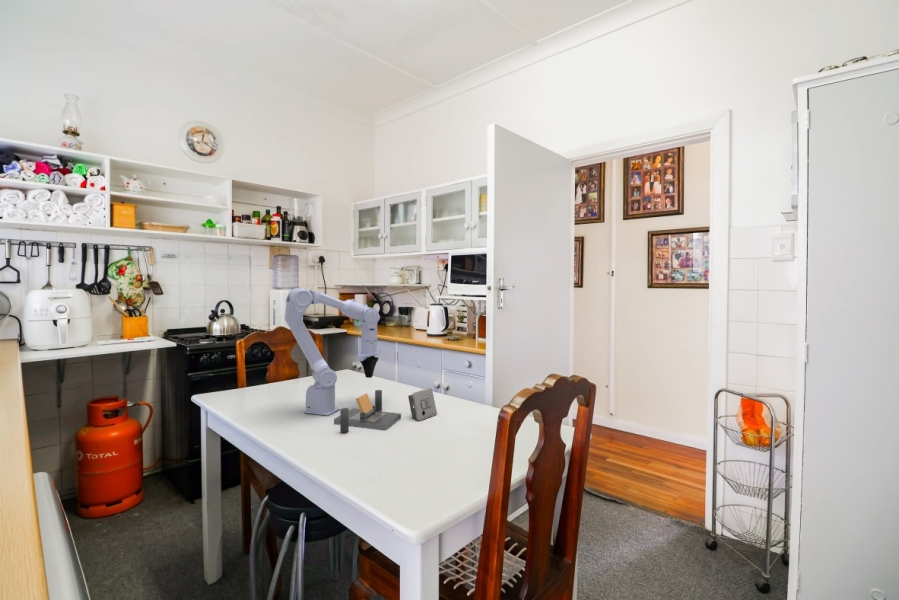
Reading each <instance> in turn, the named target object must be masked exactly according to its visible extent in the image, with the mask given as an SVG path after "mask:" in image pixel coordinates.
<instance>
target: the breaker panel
mask: <svg viewBox="0 0 899 600" xmlns="http://www.w3.org/2000/svg"><path fill="white" fill-rule="evenodd" d="M372 407H373V408H374V409H375V412H374V413H372V414H371V415H369V416H368V417H366V413H364V412H361V411H360V409H359V408H355V407H353V408H351V409H349V426H350V427H356V428H358V427H359V428H365V429H372V430H373V429H375V430H382V431H387V430H388V429H389V428H391V427H392V426H393V425H394V424H396V423H397V422H398V421H400V420H401V419H402V413H401V412H399V413H398V412H388V411H376V406H375V405H372ZM333 424H334V425H340V415H338V416H337V417H334V419H333Z"/></svg>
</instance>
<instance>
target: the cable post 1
mask: <svg viewBox="0 0 899 600" xmlns="http://www.w3.org/2000/svg"><path fill="white" fill-rule="evenodd" d="M339 410H340V411H339V413H340V415H339V416H340V424H339V426H340V429H339V430H340V434H342V435H343V434H348V433H349V431H350V430H349V410H350V409H349V408H347V407H343V408H340V409H339Z"/></svg>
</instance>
